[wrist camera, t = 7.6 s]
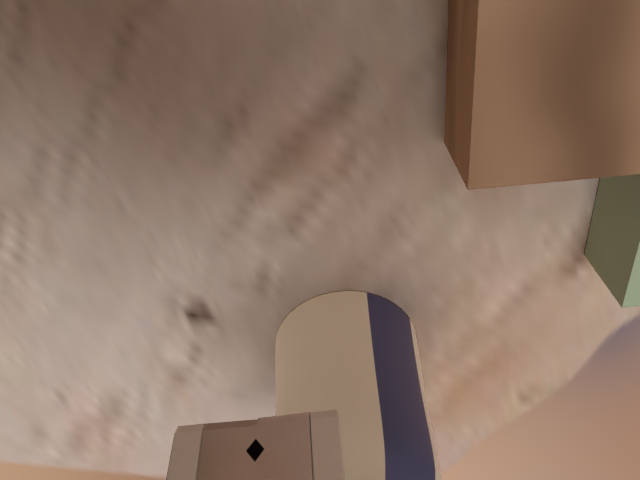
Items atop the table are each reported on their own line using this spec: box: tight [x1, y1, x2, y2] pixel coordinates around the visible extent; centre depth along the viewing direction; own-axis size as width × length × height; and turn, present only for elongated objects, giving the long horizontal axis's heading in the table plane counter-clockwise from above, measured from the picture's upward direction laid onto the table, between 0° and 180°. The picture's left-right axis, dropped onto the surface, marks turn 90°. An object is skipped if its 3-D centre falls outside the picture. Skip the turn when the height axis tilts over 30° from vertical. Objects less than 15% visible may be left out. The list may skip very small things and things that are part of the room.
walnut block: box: [444, 0, 640, 190], centre depth 20 cm, size 7×9×4 cm
